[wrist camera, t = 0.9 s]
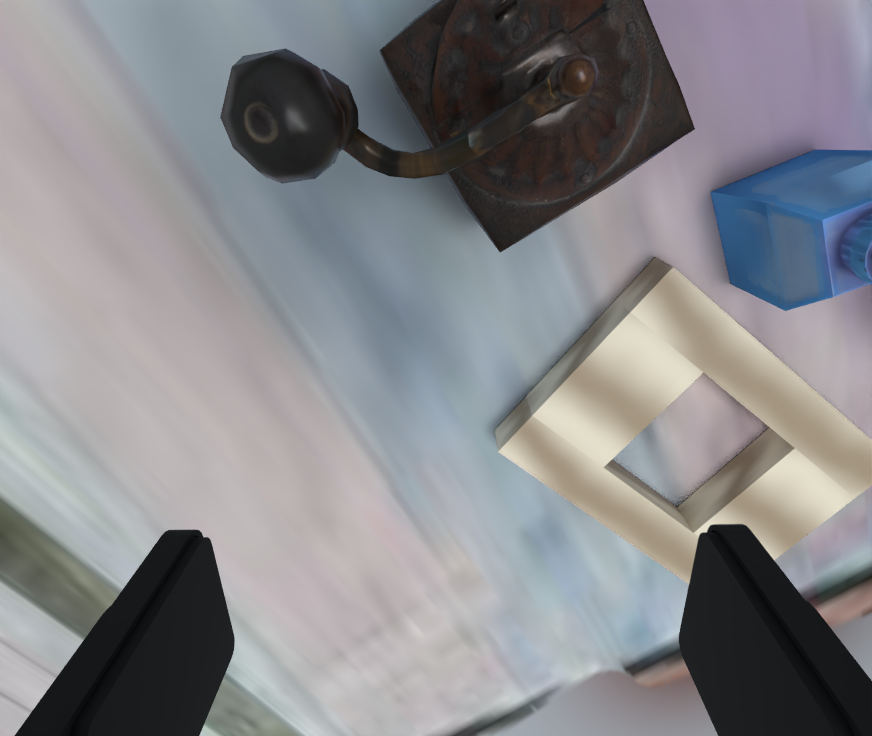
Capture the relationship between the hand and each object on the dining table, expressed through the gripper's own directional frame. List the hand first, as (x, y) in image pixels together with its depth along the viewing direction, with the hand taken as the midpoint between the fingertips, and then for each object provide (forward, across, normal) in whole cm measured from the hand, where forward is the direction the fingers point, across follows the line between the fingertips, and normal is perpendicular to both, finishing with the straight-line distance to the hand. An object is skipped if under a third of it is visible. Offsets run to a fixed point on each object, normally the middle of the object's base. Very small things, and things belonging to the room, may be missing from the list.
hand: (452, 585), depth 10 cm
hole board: (+27, -17, +13) cm, 34 cm away
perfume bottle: (+27, -20, -3) cm, 34 cm away
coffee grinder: (+27, -2, -9) cm, 29 cm away
